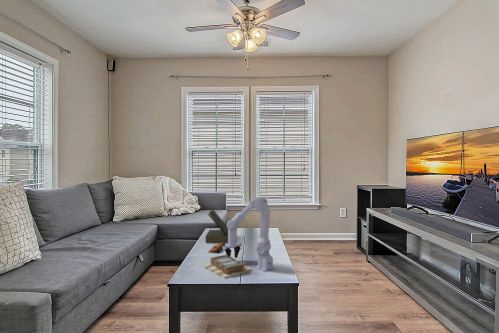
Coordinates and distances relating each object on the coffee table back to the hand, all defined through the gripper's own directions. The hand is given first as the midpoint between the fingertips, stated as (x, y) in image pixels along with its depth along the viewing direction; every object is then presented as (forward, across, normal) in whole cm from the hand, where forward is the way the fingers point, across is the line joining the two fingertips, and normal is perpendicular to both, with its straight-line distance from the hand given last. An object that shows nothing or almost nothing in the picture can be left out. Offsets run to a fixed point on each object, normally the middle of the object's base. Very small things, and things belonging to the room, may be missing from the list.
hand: (232, 258), depth 195 cm
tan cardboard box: (+1, +10, +8) cm, 13 cm away
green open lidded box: (+3, -24, -53) cm, 58 cm away
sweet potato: (+3, -7, -30) cm, 30 cm away
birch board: (+2, +10, +8) cm, 13 cm away
